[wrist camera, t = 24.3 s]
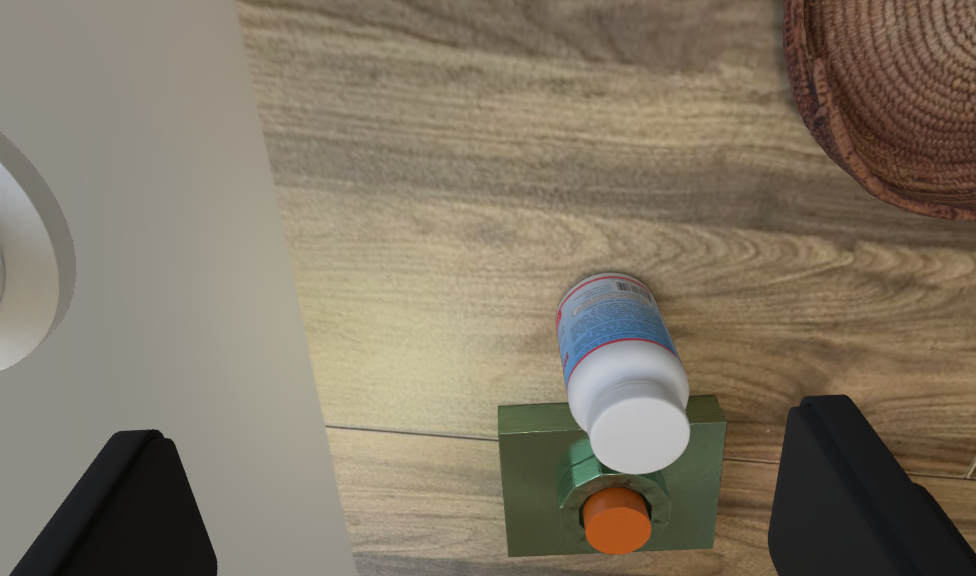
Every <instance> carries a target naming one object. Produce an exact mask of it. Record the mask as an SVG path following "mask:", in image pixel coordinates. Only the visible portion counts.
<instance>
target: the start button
mask: <svg viewBox="0 0 976 576" xmlns="http://www.w3.org/2000/svg"><path fill="white" fill-rule="evenodd" d="M583 519H584V526H585V533H586V538H587V540H588V542H589V543H590V545H591V546H592V547H594V548H595V549H597V550H598V551H601V552H603V553H607V554H625V553H629V552H632V551H635V550H637V549H638V548H640V547H641V546H643V545H644V544H645V543H646V542H647V540H648V539H649V537H650V534H651V523H650V519H649V515H648V512H647V508H646V504H645V501H644V500H643V498H642V497H641V496H640V495H639V494H638V493H636V492H635V491H632V490H630V489H627V488H606V489H603V490H601V491H599V492H597V493H595V494H593V495H592V496H591V497H589V499H588V500H587V501H586V503H585V505H584V507H583Z"/></svg>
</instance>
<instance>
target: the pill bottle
mask: <svg viewBox="0 0 976 576" xmlns="http://www.w3.org/2000/svg"><path fill="white" fill-rule="evenodd" d="M556 330H557V336H558V342H559V348H560V354H561V360H562V366H563V373H564V379H565V385H566V391H567V397H568V402H569V407H570V410H571V413H572V415H573V417H574V419H575V420H576V422H577V423H578V425H579V426H580V427H581V428H582V429H583V430H584V431H585V432H587V433H588V436H589V438H590V443H591V447H592V450H593V452H594V454H595V455H596V457H597V458H598V459H599V460H600V461H601V462H602V463H603V464H604V465H606V466H607V467H609V468H611V469H613V470H616V471H618V472H622V473H627V474H645V473H651V472H654V471H657V470H660V469H662V468H665V467H666V466H668V465H670V464H671V463H673V462H674V461H675V460H676V459H678V458H679V457H680V455H681V454H682V453H683V452H684V450H685V449H686V447H687V444H688V442H689V438H690V425H689V422H688V418H687V416H686V411H685V408H686V406H687V402H688V397H689V384H688V379H687V376H686V373H685V370H684V367H683V365H682V363H681V360H680V358H679V355H678V353H677V351H676V348H675V346H674V344H673V341H672V339H671V336H670V334H669V331H668V329H667V327H666V324H665V322H664V320H663V317H662V315H661V312H660V310H659V308H658V305H657V303H656V301H655V299H654V297H653V295H652V293H651V292H650V290H649V289H648V288H647V287H646V286H645V285H644V284H643V283H641V282H640V281H638V280H637V279H635V278H633V277H630V276H628V275H625V274H620V273H601V274H597V275H594V276H591V277H588V278H586V279H584V280H582V281H581V282H579V283H578V284H576V285H575V286H574V287H573V288H572V289H571V290H570V291H569V292H568V293H567V294H566V295H565V296H564V298H563V299H562V301H561V302H560V304H559V307H558V310H557V314H556Z"/></svg>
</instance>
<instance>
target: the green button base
mask: <svg viewBox="0 0 976 576" xmlns="http://www.w3.org/2000/svg"><path fill="white" fill-rule="evenodd" d="M685 411H686V416H687V418H688V422H689V425H690V438H689V442H688V444H687V447H686V449H685V450H684V452H683V453H682V454H681V455H680V457H679V458H678V459H676V460H675V461H674V462H673V463H671V464H670V465H668V466H666V467H665V468H662V469H660V470H657V471H654V472H651V473H645V474H627V473H622V472H618V471H616V470H613V469H611V468H609V467H607V466H606V465H604V464H603V463H602V462H601V461H600V460H599V459H598V458H597V457H596V455H595V454H594V452H593V450H592V447H591V443H590V438H589V436H588V433H587V432H585V431H584V430H583V429H582V428H581V427H580V426H579V425H578V423H577V422H576V420H575V419H574V417H573V415H572V413H571V410H570V407H569V403H557V404H538V405H518V406H499V407H498V438H499V450H500V462H501V474H502V486H503V498H504V510H505V522H506V534H507V546H508V556H509V557H522V556H546V555H570V554H593V553H603V552H601V551H598V550H597V549H595V548H594V547H592V546H591V545H590V543H589V542H588V540H587V538H586V533H585V526H584V519H583V507H584V505H585V503H586V501H587V500H588V499H589V497H591V496H592V495H593V494H595V493H597V492H599V491H601V490H603V489H606V488H627V489H630V490H632V491H635V492H636V493H638V494H639V495H640V496H641V497H642V498H643V500H644V501H645V504H646V508H647V512H648V515H649V519H650V523H651V534H650V537H649V539H648V540H647V542H646V543H645V544H644V545H643V546H641V547H640V548H638V549H637V550H635V551H632V552H640V551H664V550H687V549H711V548H713V542H714V533H715V525H716V516H717V507H718V498H719V490H720V481H721V472H722V463H723V455H724V446H725V437H726V428H727V420H726V418H725V416H724V414H723V412H722V409H721V407H720V405H719V403H718V401H717V399H716V396H715V395H711V396H692V397H688V402H687V406H686V408H685Z"/></svg>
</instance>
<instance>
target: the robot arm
mask: <svg viewBox="0 0 976 576" xmlns="http://www.w3.org/2000/svg"><path fill="white" fill-rule="evenodd" d="M4 284H5V269H4V263H3V258H2V253H1V250H0V301H1V298H2V295H3V292H4ZM768 546H769V551H770V555H771V559H772V561H773V564H774V566H775V568H776V571H777V573H778V575H779V576H976V553H975V552H974V551H973V549H972V548H971V547H970V545H969V544H968V543H967V541H966V540H965V539H964V537H963V536H962V535H961V533H960V532H959V531H958V529H957V528H956V527H955V525H954V524H953V523H952V521H951V520H950V519H949V517H948V516H947V515H946V513H945V512H944V511H943V509H942V508H941V507H940V505H939V504H938V503H937V501H936V500H935V499H934V497H933V496H932V495H931V494H930V493H929V492H928V491H927V490H926V489H925V488H924V487H923V486H921V485H919V484H917V483H913V482H912V481H911V480H910V478H909V477H908V476H907V474H906V473H905V472H904V470H903V469H902V467H901V466H900V465H899V463H898V462H897V461H896V459H895V458H894V457H893V455H892V454H891V452H890V451H889V450H888V448H887V447H886V446H885V444H884V443H883V442H882V440H881V439H880V437H879V436H878V435H877V433H876V432H875V431H874V429H873V428H872V427H871V425H870V424H869V423H868V421H867V420H866V418H865V417H864V416H863V414H862V413H861V412H860V410H859V409H858V408H857V406H856V405H855V403H854V402H853V401H852V400H851V399H850V398H849V397H848V396H846V395H844V394H842V395H823V396H806V397H804V398H803V399H802V401H801V403H800V406H799V407H792V408H791V409H790V410H789V413H788V418H787V424H786V430H785V436H784V442H783V448H782V454H781V460H780V466H779V472H778V478H777V484H776V490H775V496H774V502H773V508H772V514H771V520H770V526H769V532H768ZM9 576H217V559H216V555H215V553H214V550H213V547H212V544H211V542H210V539H209V536H208V533H207V531H206V528H205V525H204V523H203V520H202V517H201V514H200V512H199V509H198V506H197V503H196V501H195V498H194V495H193V493H192V490H191V487H190V484H189V482H188V479H187V476H186V473H185V471H184V468H183V465H182V462H181V460H180V457H179V454H178V452H177V449H176V446H175V444H174V442H173V441H172V440H171V439H168V438H164V436H163V434H162V433H161V432H160V431H159V430H154V429H152V430H132V431H119V432H117V433H115V434H114V435H113V436H112V437H111V438H110V439H109V440H108V442H107V443H106V445H105V446H104V448H103V449H102V450H101V451H100V453H99V454H98V455H97V457H96V458H95V460H94V461H93V462H92V464H91V465H90V466H89V468H88V469H87V471H86V472H85V473H84V474H83V476H82V477H81V479H80V480H79V481H78V483H77V484H76V485H75V487H74V488H73V489H72V491H71V492H70V494H69V495H68V496H67V498H66V499H65V500H64V502H63V503H62V505H61V506H60V507H59V509H58V510H57V511H56V513H55V514H54V515H53V517H52V518H51V519H50V521H49V522H48V523H47V525H46V526H45V527H44V529H43V530H42V532H41V533H40V534H39V536H38V537H37V538H36V540H35V541H34V543H33V544H32V545H31V547H30V548H29V549H28V551H27V552H26V553H25V555H24V556H23V557H22V559H21V560H20V562H19V563H18V564H17V566H16V567H15V568H14V570H13V571H12V572H11V574H10V575H9Z"/></svg>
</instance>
